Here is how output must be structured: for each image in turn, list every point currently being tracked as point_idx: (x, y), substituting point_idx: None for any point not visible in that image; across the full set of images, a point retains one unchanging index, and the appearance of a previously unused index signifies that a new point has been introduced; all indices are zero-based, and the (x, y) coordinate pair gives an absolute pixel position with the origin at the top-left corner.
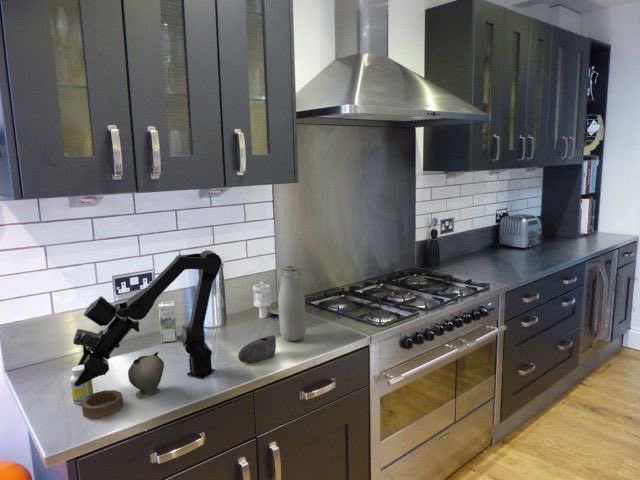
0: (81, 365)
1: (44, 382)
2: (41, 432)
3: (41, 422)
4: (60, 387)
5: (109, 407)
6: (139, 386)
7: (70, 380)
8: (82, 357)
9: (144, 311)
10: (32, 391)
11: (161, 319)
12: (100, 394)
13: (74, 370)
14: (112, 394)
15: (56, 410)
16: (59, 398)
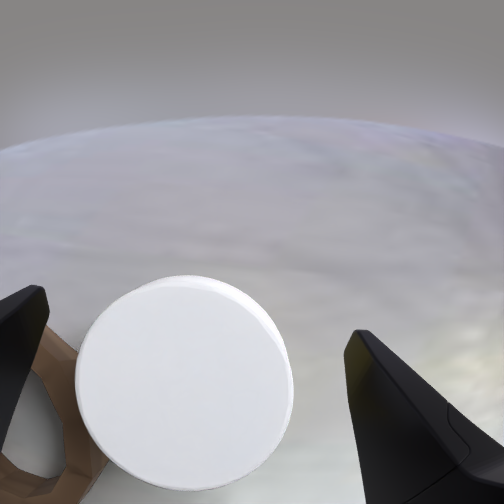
0: (253, 430)
1: (480, 217)
2: (14, 156)
3: (85, 154)
4: (421, 267)
5: None
6: None
7: (176, 276)
8: (446, 450)
9: None
10: (426, 165)
11: None
12: (67, 443)
13: (109, 308)
14: (51, 489)
15: (154, 217)
16: (298, 247)
